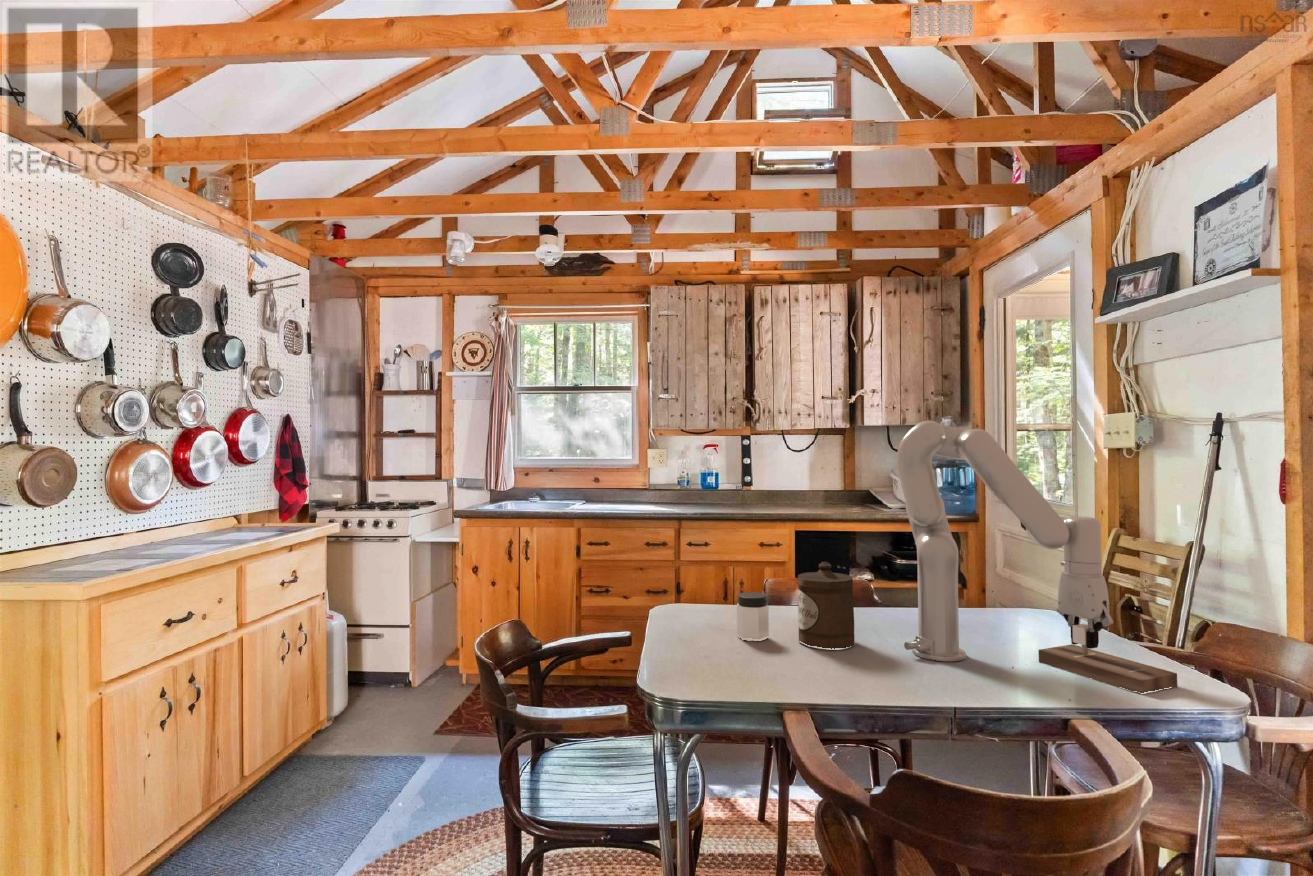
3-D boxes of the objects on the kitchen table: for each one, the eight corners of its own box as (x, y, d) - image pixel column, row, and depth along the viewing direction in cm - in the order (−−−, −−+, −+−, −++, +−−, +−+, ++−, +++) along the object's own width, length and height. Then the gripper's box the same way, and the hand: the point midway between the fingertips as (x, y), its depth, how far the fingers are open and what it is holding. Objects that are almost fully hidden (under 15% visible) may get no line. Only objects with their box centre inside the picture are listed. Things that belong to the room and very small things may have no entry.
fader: (1085, 656, 155) (1084, 628, 155) (1073, 653, 158) (1072, 625, 158) (1096, 654, 156) (1096, 626, 157) (1084, 651, 159) (1083, 623, 159)
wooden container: (794, 635, 187) (793, 558, 187) (846, 635, 186) (845, 558, 187) (804, 651, 172) (803, 566, 173) (861, 651, 172) (860, 566, 172)
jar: (772, 641, 181) (772, 597, 181) (744, 643, 179) (744, 599, 179) (760, 632, 190) (760, 591, 190) (733, 634, 188) (733, 592, 188)
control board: (1141, 694, 139) (1141, 680, 139) (1038, 662, 162) (1038, 649, 162) (1177, 687, 144) (1177, 673, 144) (1072, 656, 166) (1072, 644, 166)
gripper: (1040, 564, 164) (1042, 638, 163) (1106, 575, 149) (1108, 657, 148) (1061, 562, 167) (1063, 635, 166) (1128, 573, 151) (1130, 653, 151)
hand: (1084, 645), depth 157 cm, fingers closed on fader, 3 cm apart
